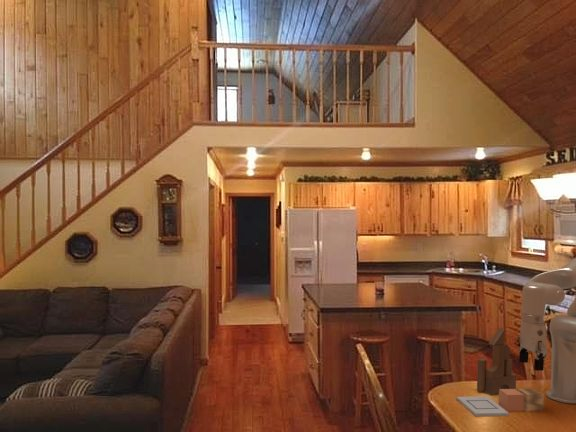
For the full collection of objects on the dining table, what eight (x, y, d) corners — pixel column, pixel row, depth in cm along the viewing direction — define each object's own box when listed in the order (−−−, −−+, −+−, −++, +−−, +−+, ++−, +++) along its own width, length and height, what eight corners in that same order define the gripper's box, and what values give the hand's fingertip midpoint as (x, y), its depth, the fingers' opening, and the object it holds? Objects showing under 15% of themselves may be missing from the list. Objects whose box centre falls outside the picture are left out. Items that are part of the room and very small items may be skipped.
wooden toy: (501, 385, 213) (503, 324, 212) (516, 390, 207) (517, 327, 206) (475, 390, 205) (476, 327, 205) (488, 396, 200) (490, 331, 199)
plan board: (487, 399, 196) (487, 396, 196) (508, 415, 181) (509, 412, 180) (456, 399, 195) (456, 396, 195) (475, 416, 179) (475, 413, 179)
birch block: (533, 404, 192) (534, 388, 192) (543, 411, 186) (543, 394, 186) (518, 405, 191) (518, 388, 191) (527, 411, 185) (527, 394, 185)
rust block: (514, 405, 191) (514, 388, 191) (523, 411, 185) (523, 394, 185) (498, 405, 191) (499, 389, 191) (507, 411, 185) (507, 394, 185)
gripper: (557, 324, 180) (555, 373, 180) (529, 314, 197) (527, 359, 197) (536, 324, 179) (534, 373, 179) (510, 314, 196) (508, 359, 196)
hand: (530, 366), depth 188 cm, fingers open, 9 cm apart
